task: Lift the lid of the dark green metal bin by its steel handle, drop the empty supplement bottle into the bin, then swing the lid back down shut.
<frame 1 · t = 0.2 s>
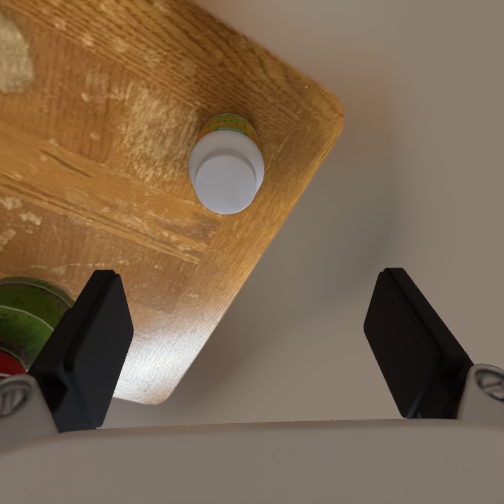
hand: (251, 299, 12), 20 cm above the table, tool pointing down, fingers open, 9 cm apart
lantern: (34, 311, 38), on the table
supplement bottle: (228, 144, 29), on the table
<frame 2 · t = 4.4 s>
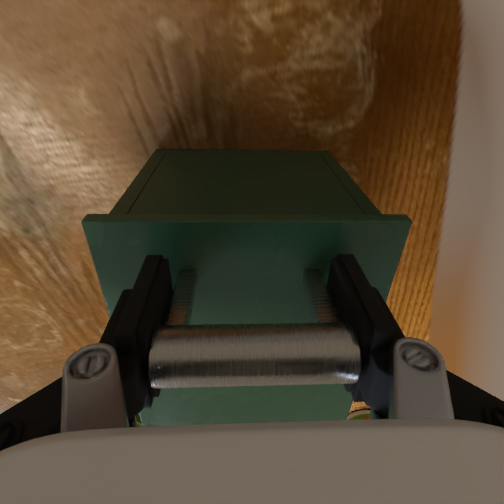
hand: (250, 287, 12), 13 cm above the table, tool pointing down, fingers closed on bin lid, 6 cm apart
bin lid: (249, 386, 14), point 15 cm above the table, hinge at 0.0°, touching gripper
bin: (242, 228, 26), on the table
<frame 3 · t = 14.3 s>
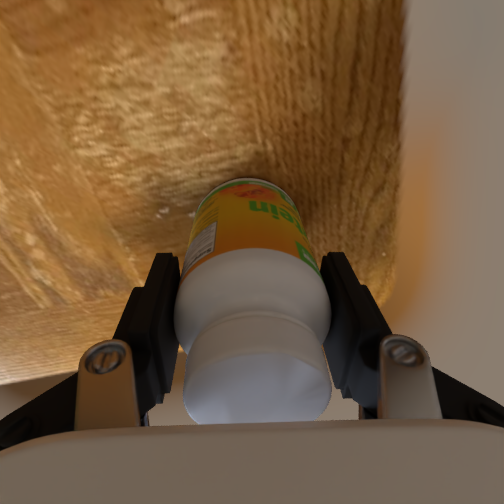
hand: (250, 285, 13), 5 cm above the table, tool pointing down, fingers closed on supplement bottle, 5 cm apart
supplement bottle: (246, 223, 17), on the table, touching gripper
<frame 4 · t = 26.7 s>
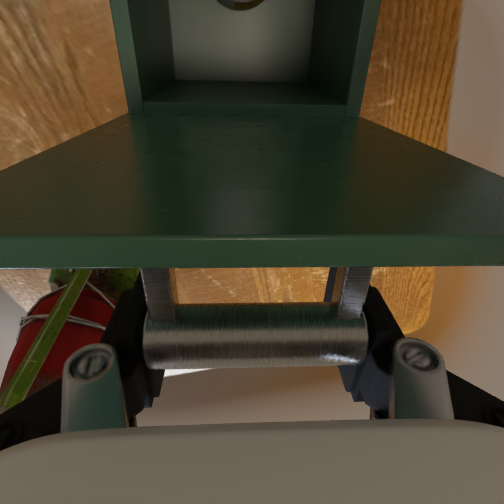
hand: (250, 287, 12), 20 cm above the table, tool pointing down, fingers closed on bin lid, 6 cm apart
bin lid: (250, 216, 12), point 19 cm above the table, hinge at 87.1°, touching gripper
lantern: (115, 264, 36), on the table
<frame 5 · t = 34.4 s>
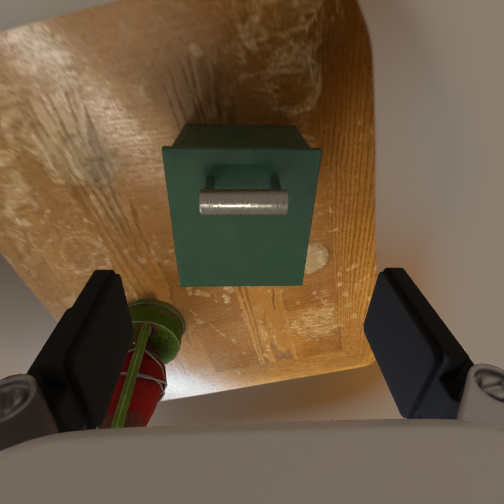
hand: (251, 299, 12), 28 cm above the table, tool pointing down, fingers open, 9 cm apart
bin lid: (242, 240, 26), point 15 cm above the table, hinge at 1.3°
lantern: (152, 323, 51), on the table
bin: (240, 180, 39), on the table
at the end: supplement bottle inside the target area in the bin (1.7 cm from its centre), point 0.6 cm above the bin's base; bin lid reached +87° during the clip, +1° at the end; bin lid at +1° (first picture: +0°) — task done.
